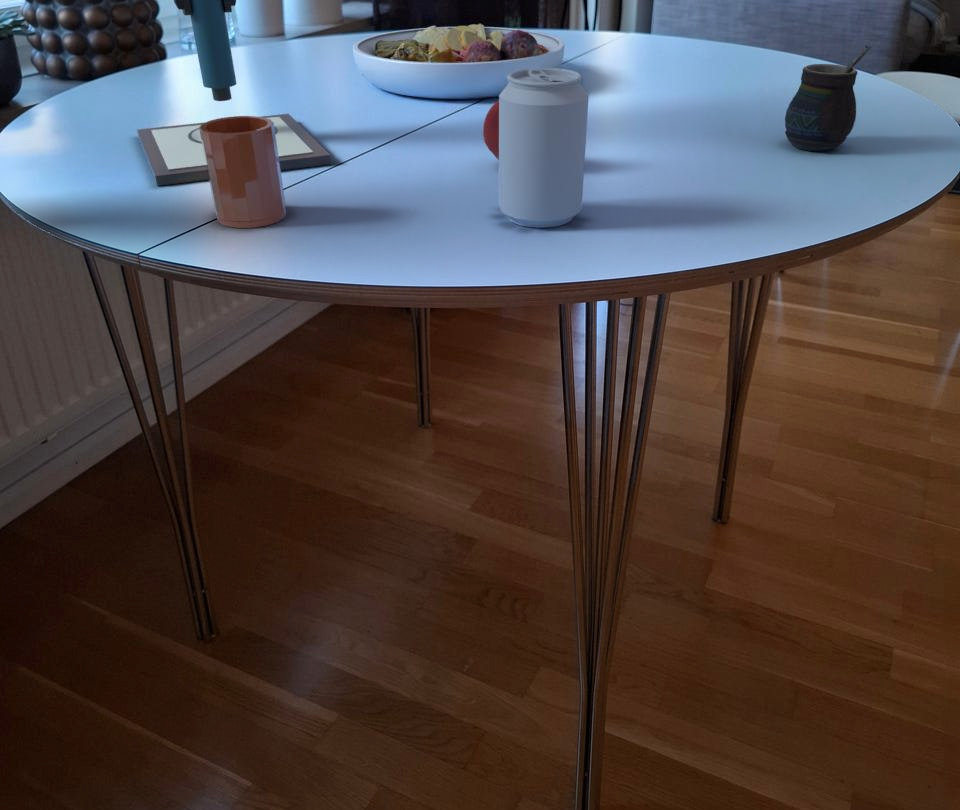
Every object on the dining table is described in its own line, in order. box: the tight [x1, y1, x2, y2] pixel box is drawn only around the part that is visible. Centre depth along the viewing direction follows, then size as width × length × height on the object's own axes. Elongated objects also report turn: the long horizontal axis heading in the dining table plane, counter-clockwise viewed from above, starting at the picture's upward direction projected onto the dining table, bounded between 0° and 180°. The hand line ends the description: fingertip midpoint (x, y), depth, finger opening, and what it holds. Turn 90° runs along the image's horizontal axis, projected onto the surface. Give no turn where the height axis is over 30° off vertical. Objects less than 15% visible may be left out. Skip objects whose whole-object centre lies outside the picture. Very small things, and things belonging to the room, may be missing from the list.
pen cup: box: [199, 115, 287, 229], centre depth 76 cm, size 6×6×8 cm
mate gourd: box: [784, 45, 872, 152], centre depth 93 cm, size 7×8×10 cm
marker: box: [189, 0, 237, 102], centre depth 93 cm, size 4×4×14 cm
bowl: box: [352, 23, 565, 100], centre depth 123 cm, size 30×30×8 cm
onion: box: [482, 99, 499, 161], centre depth 88 cm, size 6×6×8 cm
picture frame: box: [136, 113, 332, 187], centre depth 96 cm, size 18×20×1 cm
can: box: [498, 68, 590, 229], centre depth 74 cm, size 8×8×12 cm
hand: (207, 12), depth 92 cm, fingers closed on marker, 3 cm apart
